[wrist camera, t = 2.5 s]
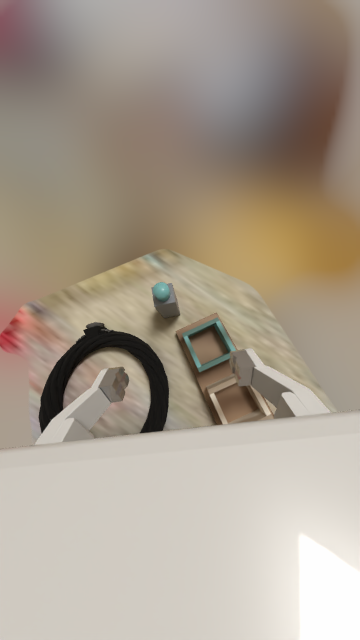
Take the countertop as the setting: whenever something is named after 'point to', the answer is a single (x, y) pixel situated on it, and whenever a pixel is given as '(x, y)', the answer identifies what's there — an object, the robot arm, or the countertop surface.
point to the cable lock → (90, 342)
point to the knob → (165, 300)
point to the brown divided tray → (220, 373)
